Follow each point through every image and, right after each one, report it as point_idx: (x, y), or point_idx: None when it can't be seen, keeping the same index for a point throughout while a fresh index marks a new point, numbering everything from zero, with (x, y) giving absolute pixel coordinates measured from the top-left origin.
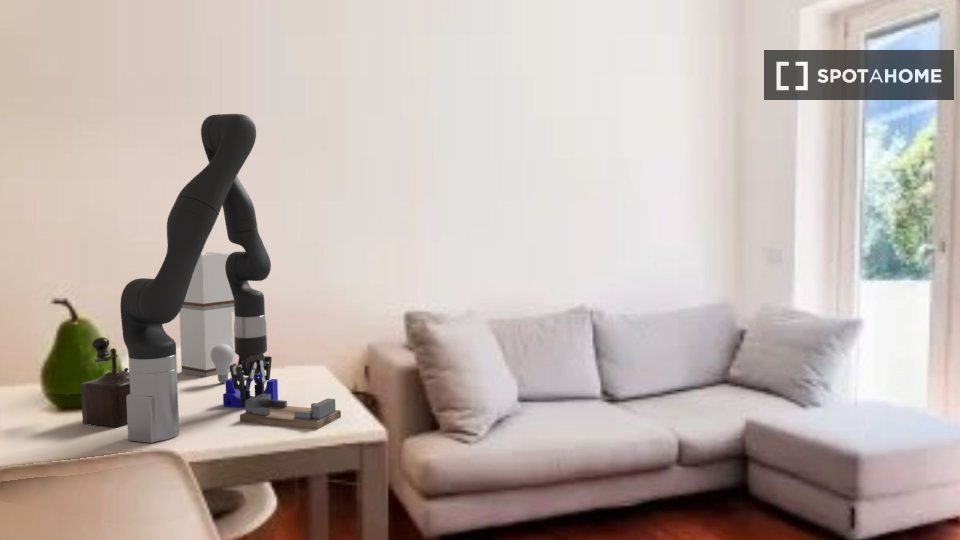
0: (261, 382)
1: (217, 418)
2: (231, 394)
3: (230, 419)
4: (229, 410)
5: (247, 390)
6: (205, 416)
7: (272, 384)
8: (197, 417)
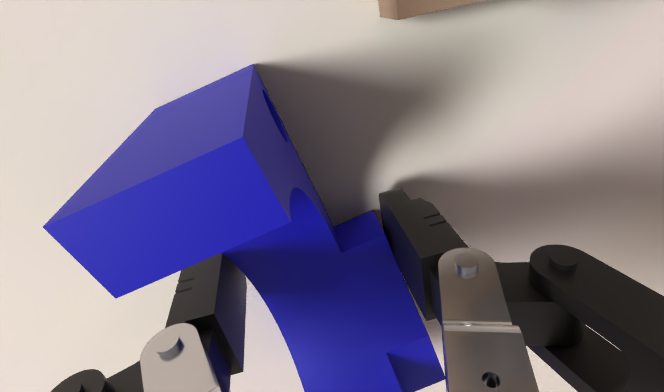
0: (205, 351)
1: (641, 151)
2: (431, 343)
3: (660, 59)
4: (470, 234)
5: (471, 248)
6: (607, 235)
7: (244, 126)
8: (628, 249)
